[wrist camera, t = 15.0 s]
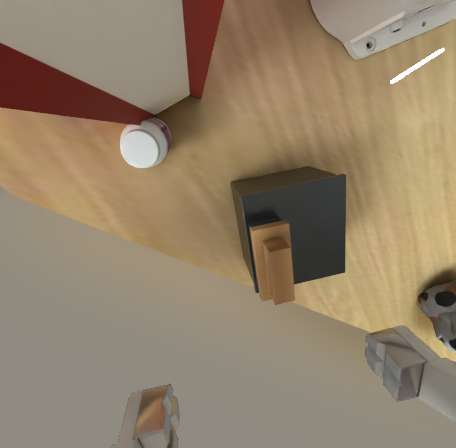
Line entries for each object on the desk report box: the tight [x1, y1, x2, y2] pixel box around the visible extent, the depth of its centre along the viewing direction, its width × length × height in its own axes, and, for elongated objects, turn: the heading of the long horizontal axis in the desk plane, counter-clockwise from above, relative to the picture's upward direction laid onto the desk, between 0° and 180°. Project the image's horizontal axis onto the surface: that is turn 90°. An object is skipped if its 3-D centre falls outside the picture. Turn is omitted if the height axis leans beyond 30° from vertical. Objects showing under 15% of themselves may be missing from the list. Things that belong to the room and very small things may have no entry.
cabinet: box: [231, 166, 346, 293], centre depth 37 cm, size 14×14×10 cm
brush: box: [248, 217, 295, 305], centre depth 30 cm, size 4×10×6 cm, turn 10°
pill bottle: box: [120, 117, 171, 168], centre depth 30 cm, size 5×5×10 cm
